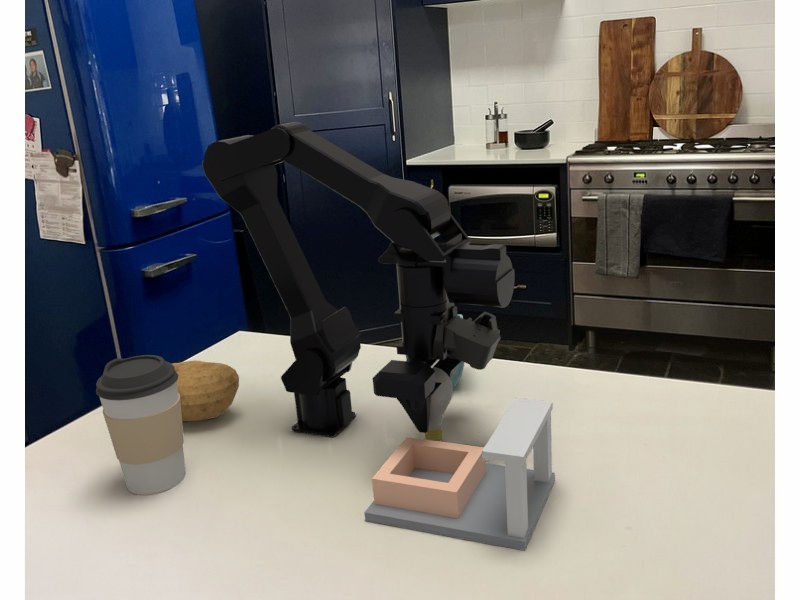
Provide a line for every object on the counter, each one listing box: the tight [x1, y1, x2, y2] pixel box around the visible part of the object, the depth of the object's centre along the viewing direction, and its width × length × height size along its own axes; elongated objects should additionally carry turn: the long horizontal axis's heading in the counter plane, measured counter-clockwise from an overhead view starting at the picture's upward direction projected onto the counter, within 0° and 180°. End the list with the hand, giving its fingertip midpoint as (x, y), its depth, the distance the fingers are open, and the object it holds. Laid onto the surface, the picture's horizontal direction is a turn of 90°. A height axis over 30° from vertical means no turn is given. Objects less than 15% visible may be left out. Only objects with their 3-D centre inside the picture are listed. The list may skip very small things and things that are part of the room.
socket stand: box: [363, 397, 556, 551], centre depth 81 cm, size 17×13×10 cm
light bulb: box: [424, 367, 454, 442], centre depth 94 cm, size 6×6×10 cm
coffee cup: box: [95, 354, 186, 496], centre depth 90 cm, size 9×9×15 cm
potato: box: [170, 360, 240, 422], centre depth 106 cm, size 10×14×8 cm
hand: (432, 420), depth 94 cm, fingers open, 6 cm apart
